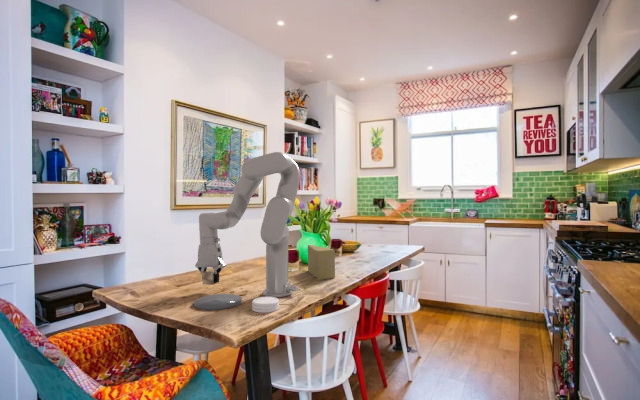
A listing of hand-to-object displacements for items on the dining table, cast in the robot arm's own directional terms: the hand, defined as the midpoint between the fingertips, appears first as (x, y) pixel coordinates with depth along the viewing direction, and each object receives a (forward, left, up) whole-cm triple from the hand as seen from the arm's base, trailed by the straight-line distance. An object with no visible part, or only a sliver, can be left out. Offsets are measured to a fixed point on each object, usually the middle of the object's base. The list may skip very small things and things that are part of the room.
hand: (210, 281), depth 159 cm
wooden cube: (0, 0, -1) cm, 1 cm away
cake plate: (-12, +13, -5) cm, 19 cm away
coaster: (-33, +14, -5) cm, 36 cm away
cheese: (-35, -45, -5) cm, 57 cm away
